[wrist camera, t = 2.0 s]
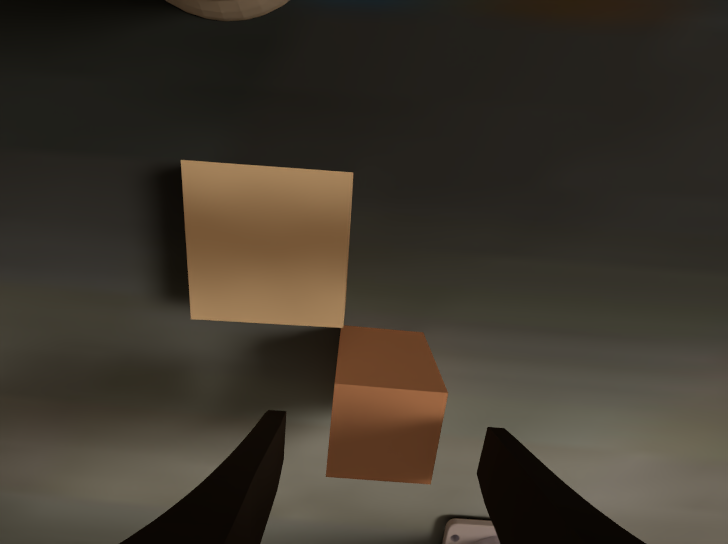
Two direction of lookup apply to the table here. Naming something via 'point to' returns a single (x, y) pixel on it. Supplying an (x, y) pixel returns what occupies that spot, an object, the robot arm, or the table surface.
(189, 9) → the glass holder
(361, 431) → the painted block
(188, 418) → the table surface
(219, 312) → the birch base
